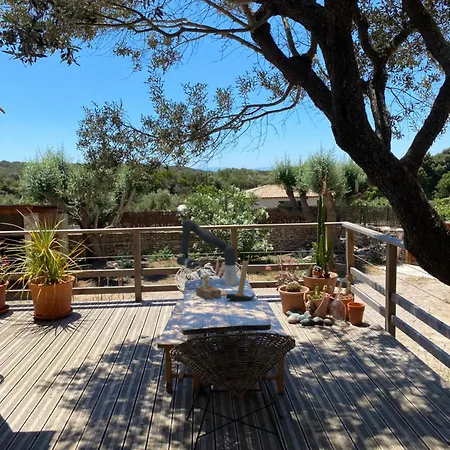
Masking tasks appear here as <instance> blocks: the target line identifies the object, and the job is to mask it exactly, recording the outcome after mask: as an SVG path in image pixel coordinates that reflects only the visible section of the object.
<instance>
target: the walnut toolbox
mask: <svg viewBox="0 0 450 450" xmlns="http://www.w3.org/2000/svg"><path fill="white" fill-rule="evenodd" d="M195 288H196V289H195V295H196V296H198V297H200V298H201V297H202V299H204V300H206V301H208V300H207V299H210V300H214V299H213V298H216V299H220V298H221V299H222V296H221V289H220V288H218V287H215V286H212V285H209V288H207V289H203V287H202V286H197V287H195Z"/></svg>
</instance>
